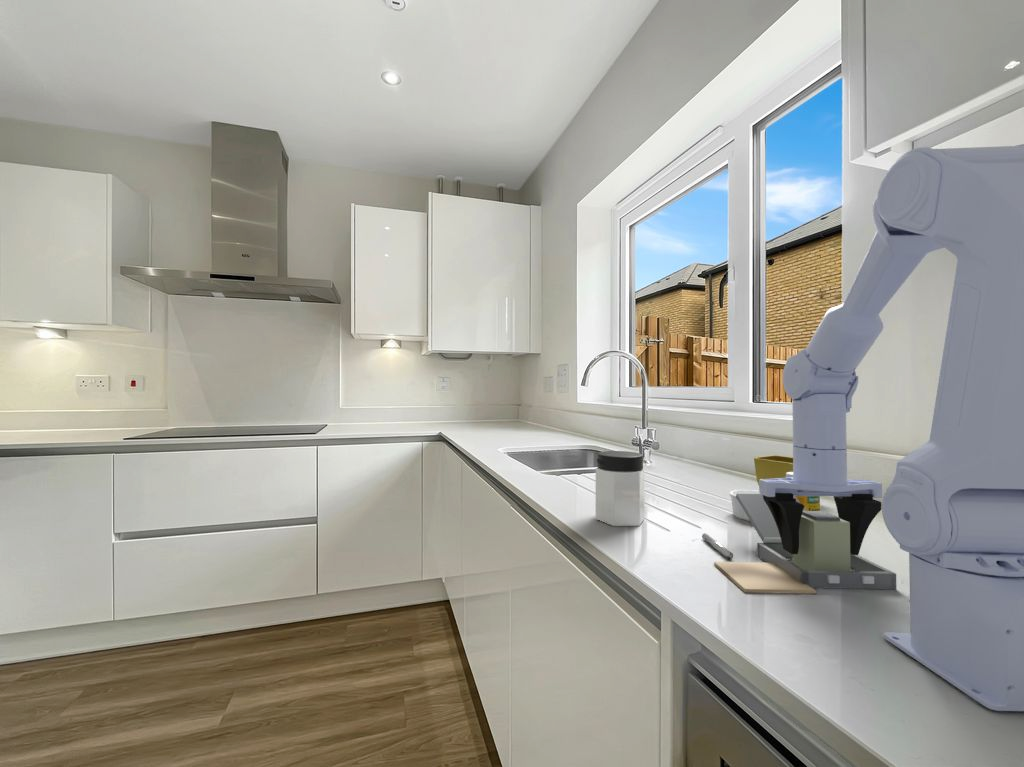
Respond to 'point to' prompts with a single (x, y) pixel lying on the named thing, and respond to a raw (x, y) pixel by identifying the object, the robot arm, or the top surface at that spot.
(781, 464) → the flower pot
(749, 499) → the lid
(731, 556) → the rod
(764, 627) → the top surface
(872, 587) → the case
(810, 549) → the block
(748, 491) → the ramekin
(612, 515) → the jar
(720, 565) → the mat
